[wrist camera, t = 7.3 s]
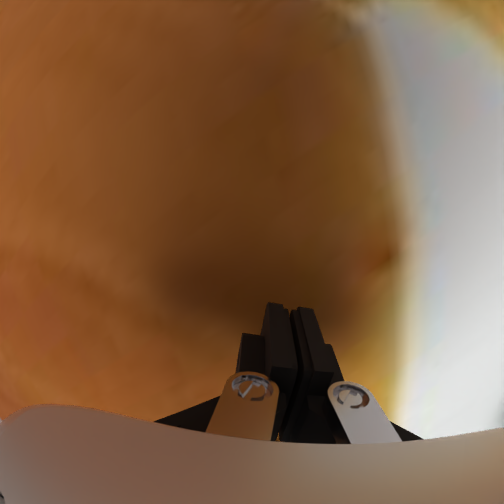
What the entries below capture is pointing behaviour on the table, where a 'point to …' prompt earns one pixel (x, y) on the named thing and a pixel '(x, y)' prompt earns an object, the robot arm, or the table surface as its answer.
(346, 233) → the table surface
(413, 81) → the table surface
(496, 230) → the table surface
